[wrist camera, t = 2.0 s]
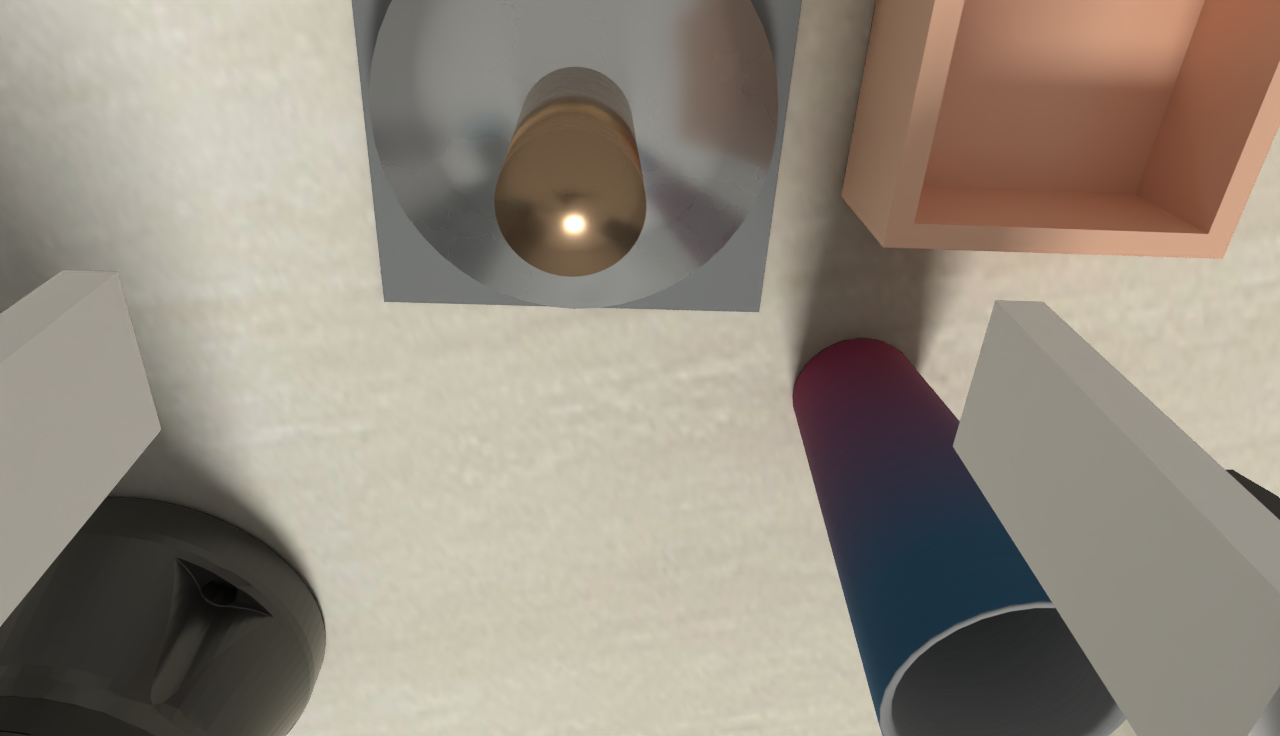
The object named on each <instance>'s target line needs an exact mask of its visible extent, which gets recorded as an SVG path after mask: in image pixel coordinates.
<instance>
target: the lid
mask: <svg viewBox="0 0 1280 736" xmlns="http://www.w3.org/2000/svg"><path fill="white" fill-rule="evenodd" d="M369 95H370V117H371V123H372V129H373V135H374V141H375V145H376V149H377V152H378V155H379V159H380V162H381V165H382V169H383V171H384V173H385V176H386V178H387V180H388V182H389V185H390V187H391V189H392V191H393V194H394V195H395V197H396V199H397V200H398V202H399V204H400V205H401V207H402V209H403V210H404V212H405V214H406V215H407V217H408V218H409V219H410V221H411V222H412V223H413V225H414V226H415V227H416V228H417V230H418V231H419V232H420V234H421V235H422V236H423V237H424V238H425V239H426V240H427V241H428V242H429V243H430V244H431V245H432V246H433V247H434V248H435V249H436V250H437V251H438V252H439V253H440V254H441V255H442V256H443V257H444V258H445V259H447V260H448V261H449V262H451V263H452V264H453V265H454V266H456V267H457V268H458V269H459V270H461V271H462V272H464V273H465V274H467V275H469V276H470V277H472V278H473V279H475V280H477V281H478V282H480V283H481V284H484V285H486V286H488V287H490V288H492V289H494V290H496V291H499V292H501V293H503V294H505V295H508V296H511V297H514V298H517V299H520V300H523V301H526V302H531V303H536V304H541V305H545V306H550V307H562V308H573V309H575V308H600V307H606V306H613V305H620V304H624V303H627V302H631V301H635V300H638V299H642V298H645V297H647V296H650V295H652V294H655V293H657V292H660V291H662V290H664V289H667V288H668V287H670V286H672V285H674V284H675V283H677V282H679V281H681V280H683V279H684V278H686V277H688V276H689V275H690V274H692V273H693V272H694V271H696V270H697V269H699V268H700V267H701V266H703V265H704V264H705V263H707V262H708V261H709V260H710V259H711V258H712V257H713V256H714V255H715V254H716V253H717V252H718V251H719V250H720V249H721V248H723V247H724V245H725V244H726V243H727V242H728V241H729V239H730V238H731V237H732V236H733V235H734V233H735V232H736V231H737V230H738V229H739V227H740V226H741V224H742V223H743V221H744V219H745V218H746V216H747V215H748V213H749V212H750V210H751V209H752V207H753V205H754V203H755V201H756V199H757V196H758V194H759V192H760V190H761V188H762V186H763V184H764V181H765V178H766V175H767V172H768V169H769V166H770V163H771V160H772V155H773V150H774V145H775V140H776V135H777V122H778V108H779V107H778V90H777V78H776V72H775V67H774V62H773V57H772V52H771V49H770V46H769V43H768V40H767V37H766V34H765V31H764V28H763V25H762V23H761V21H760V19H759V17H758V15H757V12H756V10H755V8H754V6H753V4H752V2H751V0H392V1H391V3H390V5H389V7H388V9H387V12H386V15H385V17H384V20H383V22H382V25H381V28H380V30H379V33H378V37H377V41H376V45H375V50H374V54H373V58H372V65H371V76H370V86H369Z"/></svg>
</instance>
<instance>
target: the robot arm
mask: <svg viewBox="0 0 1280 736" xmlns="http://www.w3.org/2000/svg"><path fill="white" fill-rule="evenodd" d="M160 431H161V426H160V423H159V419H158V415H157V412H156V408H155V405H154V401H153V397H152V394H151V390H150V387H149V383H148V379H147V376H146V372H145V369H144V365H143V361H142V358H141V354H140V351H139V347H138V344H137V340H136V336H135V333H134V329H133V326H132V322H131V318H130V315H129V311H128V308H127V304H126V300H125V297H124V293H123V290H122V286H121V282H120V279H119V275H118V272H109V271H78V270H62V271H60V272H59V273H58V274H56V275H55V276H53V277H52V278H50V279H49V280H48V281H46V282H45V283H43V284H42V285H40V286H39V287H38V288H36V289H35V290H33V291H32V292H30V293H29V294H28V295H26V296H25V297H23V298H22V299H20V300H19V301H18V302H16V303H15V304H13V305H12V306H10V307H9V308H8V309H6V310H5V311H3V312H2V313H0V736H286V735H287V734H288V732H289V731H290V730H291V729H292V728H293V726H294V725H295V724H296V722H297V721H298V720H299V718H300V716H301V715H302V713H303V711H304V709H305V708H306V706H307V704H308V701H309V699H310V697H311V694H312V691H313V688H314V685H315V683H316V680H317V677H318V674H319V671H320V669H321V666H322V663H323V659H324V654H325V645H326V640H325V629H324V624H323V620H322V616H321V613H320V611H319V608H318V606H317V604H316V602H315V600H314V598H313V596H312V594H311V593H310V591H309V589H308V588H307V587H306V585H305V584H304V582H303V581H302V580H301V578H300V577H299V576H298V575H297V574H296V573H295V571H294V570H293V569H292V568H291V567H290V566H289V565H288V564H287V563H286V562H285V561H284V560H283V559H282V558H280V557H279V556H278V555H277V554H276V553H274V552H273V551H272V550H271V549H269V548H268V547H267V546H265V545H264V544H262V543H261V542H260V541H258V540H256V539H255V538H253V537H252V536H250V535H248V534H247V533H245V532H243V531H241V530H240V529H238V528H236V527H234V526H232V525H230V524H228V523H226V522H223V521H221V520H219V519H216V518H214V517H212V516H209V515H206V514H204V513H201V512H198V511H195V510H192V509H188V508H185V507H181V506H177V505H173V504H169V503H164V502H159V501H153V500H146V499H137V498H123V497H107V496H108V494H109V493H110V492H111V491H112V489H113V488H114V487H115V486H116V485H117V483H118V482H119V481H120V480H121V478H122V477H123V476H124V475H125V474H126V472H127V471H128V470H129V469H130V467H131V466H132V465H133V464H134V463H135V461H136V460H137V459H138V458H139V456H140V455H141V454H142V453H143V452H144V450H145V449H146V448H147V447H148V445H149V444H150V443H151V442H152V441H153V439H154V438H155V437H156V436H157V434H158V433H159V432H160ZM953 447H954V449H955V451H956V452H957V454H958V455H959V457H960V458H961V460H962V462H963V463H964V465H965V466H966V468H967V469H968V471H969V473H970V474H971V476H972V477H973V479H974V480H975V482H976V484H977V485H978V487H979V488H980V490H981V491H982V493H983V495H984V496H985V498H986V499H987V501H988V502H989V504H990V506H991V507H992V509H993V510H994V512H995V513H996V515H997V517H998V518H999V520H1000V521H1001V523H1002V524H1003V526H1004V528H1005V529H1006V531H1007V532H1008V534H1009V535H1010V537H1011V539H1012V540H1013V542H1014V543H1015V545H1016V546H1017V548H1018V550H1019V551H1020V553H1021V554H1022V556H1023V557H1024V559H1025V561H1026V562H1027V564H1028V565H1029V567H1030V568H1031V570H1032V572H1033V573H1034V575H1035V576H1036V578H1037V579H1038V581H1039V583H1040V584H1041V586H1042V587H1043V589H1044V590H1045V592H1046V594H1047V595H1048V597H1049V598H1050V600H1051V601H1052V603H1053V605H1054V606H1055V608H1056V609H1057V611H1058V612H1059V614H1060V616H1061V617H1062V619H1063V620H1064V622H1065V623H1066V625H1067V626H1068V628H1069V630H1070V631H1071V633H1072V634H1073V636H1074V637H1075V639H1076V641H1077V642H1078V644H1079V645H1080V647H1081V648H1082V650H1083V652H1084V653H1085V655H1086V656H1087V658H1088V659H1089V661H1090V663H1091V664H1092V666H1093V667H1094V669H1095V670H1096V672H1097V674H1098V675H1099V677H1100V678H1101V680H1102V681H1103V683H1104V685H1105V686H1106V688H1107V689H1108V691H1109V692H1110V694H1111V696H1112V697H1113V699H1114V700H1115V702H1116V703H1117V705H1118V707H1119V708H1120V710H1121V711H1122V713H1123V714H1124V716H1125V718H1126V719H1127V721H1128V722H1129V724H1130V725H1131V727H1132V729H1133V730H1134V732H1135V733H1136V735H1137V736H1280V498H1279V497H1278V496H1276V495H1275V494H1273V493H1271V492H1270V491H1268V490H1266V489H1264V488H1263V487H1261V486H1259V485H1258V484H1256V483H1254V482H1252V481H1251V480H1249V479H1247V478H1246V477H1244V476H1242V475H1241V474H1239V473H1237V472H1235V471H1234V470H1225V469H1224V468H1223V467H1222V466H1221V465H1219V464H1218V463H1217V462H1216V461H1215V460H1214V459H1213V458H1212V457H1211V456H1210V455H1209V454H1208V453H1206V452H1205V451H1204V450H1203V449H1202V448H1201V447H1200V446H1199V445H1198V444H1197V443H1196V442H1195V441H1193V440H1192V439H1191V438H1190V437H1189V436H1188V435H1187V434H1186V433H1185V432H1184V431H1183V430H1182V429H1180V428H1179V427H1178V426H1177V425H1176V424H1175V423H1174V422H1173V421H1172V420H1171V419H1170V418H1169V417H1167V416H1166V415H1165V414H1164V413H1163V412H1162V411H1161V410H1160V409H1159V408H1158V407H1157V406H1156V405H1154V404H1153V403H1152V402H1151V401H1150V400H1149V399H1148V398H1147V397H1146V396H1145V395H1144V394H1143V393H1141V392H1140V391H1139V390H1138V389H1137V388H1136V387H1135V386H1134V385H1133V384H1132V383H1131V382H1130V381H1128V380H1127V379H1126V378H1125V377H1124V376H1123V375H1122V374H1121V373H1120V372H1119V371H1118V370H1117V369H1115V368H1114V367H1113V366H1112V365H1111V364H1110V363H1109V362H1108V361H1107V360H1106V359H1105V358H1104V357H1102V356H1101V355H1100V354H1099V353H1098V352H1097V351H1096V350H1095V349H1094V348H1093V347H1092V346H1091V345H1089V344H1088V343H1087V342H1086V341H1085V340H1084V339H1083V338H1082V337H1081V336H1080V335H1079V334H1078V333H1076V332H1075V331H1074V330H1073V329H1072V328H1071V327H1070V326H1069V325H1068V324H1067V323H1066V322H1065V321H1063V320H1062V319H1061V318H1060V317H1059V316H1058V315H1057V314H1056V313H1055V312H1054V311H1053V310H1052V309H1050V308H1049V307H1048V306H1047V305H1046V304H1045V303H1044V302H1034V301H1003V300H995V303H994V307H993V310H992V314H991V317H990V321H989V324H988V327H987V331H986V334H985V338H984V341H983V344H982V348H981V351H980V355H979V358H978V362H977V365H976V368H975V372H974V375H973V379H972V382H971V385H970V389H969V392H968V396H967V399H966V403H965V406H964V409H963V413H962V416H961V420H960V423H959V426H958V430H957V433H956V437H955V440H954V444H953Z"/></svg>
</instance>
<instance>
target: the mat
mask: <svg viewBox="0 0 1280 736" xmlns="http://www.w3.org/2000/svg"><path fill="white" fill-rule="evenodd" d="M391 1H392V0H352V8H353V17H354V26H355V35H356V45H357V54H358V63H359V72H360V82H361V91H362V100H363V109H364V118H365V128H366V137H367V146H368V155H369V165H370V174H371V183H372V192H373V202H374V211H375V220H376V229H377V239H378V248H379V257H380V266H381V275H382V285H383V294H384V302H414V303H450V304H486V305H522V306H545V305H541V304H536V303H531V302H526V301H523V300H520V299H517V298H514V297H511V296H508V295H505V294H503V293H501V292H499V291H496V290H494V289H492V288H490V287H488V286H486V285H484V284H481V283H480V282H478V281H477V280H475V279H473V278H472V277H470V276H469V275H467V274H465V273H464V272H462V271H461V270H459V269H458V268H457V267H456V266H454V265H453V264H452V263H451V262H449V261H448V260H447V259H445V258H444V257H443V256H442V255H441V254H440V253H439V252H438V251H437V250H436V249H435V248H434V247H433V246H432V245H431V244H430V243H429V242H428V241H427V240H426V239H425V238H424V237H423V236H422V235H421V234H420V232H419V231H418V230H417V228H416V227H415V226H414V225H413V223H412V222H411V221H410V219H409V218H408V217H407V215H406V214H405V212H404V210H403V209H402V207H401V205H400V204H399V202H398V200H397V199H396V197H395V195H394V194H393V191H392V189H391V187H390V185H389V182H388V180H387V178H386V176H385V173H384V171H383V169H382V165H381V162H380V159H379V155H378V152H377V149H376V145H375V141H374V135H373V129H372V123H371V117H370V95H369V86H370V76H371V65H372V58H373V54H374V50H375V45H376V41H377V37H378V33H379V30H380V28H381V25H382V22H383V20H384V17H385V15H386V12H387V9H388V7H389V5H390V3H391ZM751 2H752V4H753V6H754V8H755V10H756V12H757V15H758V17H759V19H760V21H761V23H762V25H763V28H764V31H765V34H766V37H767V40H768V43H769V46H770V49H771V52H772V57H773V62H774V67H775V72H776V78H777V90H778V107H779V108H778V122H777V135H776V140H775V145H774V150H773V155H772V160H771V163H770V166H769V169H768V172H767V175H766V178H765V181H764V184H763V186H762V188H761V190H760V192H759V194H758V196H757V199H756V201H755V203H754V205H753V207H752V209H751V210H750V212H749V213H748V215H747V216H746V218H745V219H744V221H743V223H742V224H741V226H740V227H739V229H738V230H737V231H736V232H735V233H734V235H733V236H732V237H731V238H730V239H729V241H728V242H727V243H726V244H725V245H724V247H723V248H721V249H720V250H719V251H718V252H717V253H716V254H715V255H714V256H713V257H712V258H711V259H710V260H709V261H708V262H707V263H705V264H704V265H703V266H701V267H700V268H699V269H697V270H696V271H694V272H693V273H692V274H690V275H689V276H688V277H686V278H684V279H683V280H681V281H679V282H677V283H675V284H674V285H672V286H670V287H668V288H667V289H664V290H662V291H660V292H657V293H655V294H652V295H650V296H647V297H645V298H642V299H638V300H635V301H631V302H627V303H624V304H620V305H613V306H606V307H600V308H630V309H666V310H702V311H738V312H759V308H760V301H761V294H762V287H763V279H764V272H765V265H766V257H767V250H768V243H769V236H770V228H771V221H772V214H773V206H774V199H775V192H776V184H777V177H778V170H779V163H780V155H781V148H782V141H783V133H784V126H785V119H786V112H787V104H788V97H789V90H790V82H791V75H792V68H793V61H794V53H795V46H796V39H797V31H798V24H799V17H800V10H801V2H802V0H751Z"/></svg>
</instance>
